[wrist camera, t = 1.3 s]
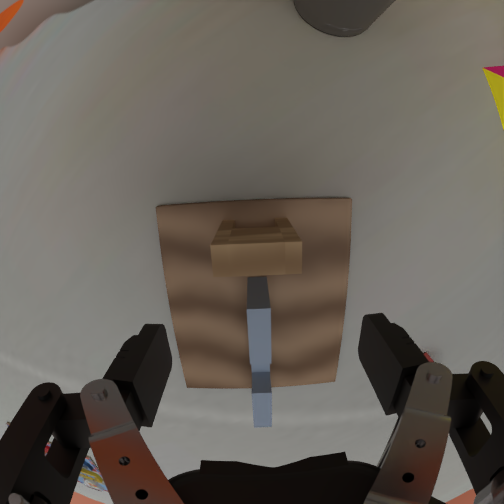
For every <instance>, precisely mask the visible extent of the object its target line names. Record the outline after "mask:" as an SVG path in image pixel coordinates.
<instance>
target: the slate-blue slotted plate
mask: <svg viewBox="0 0 504 504" xmlns="http://www.w3.org/2000/svg"><path fill="white" fill-rule="evenodd" d="M247 324H248V340H249V356H250V364H251V368H252V403H253V418H254V427H272V391H271V379H270V364H271V307H270V299H269V291H268V283H267V277H248V281H247Z"/></svg>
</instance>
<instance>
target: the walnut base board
mask: <svg viewBox="0 0 504 504" xmlns="http://www.w3.org/2000/svg"><path fill="white" fill-rule="evenodd" d="M156 213H157V222H158V231H159V239H160V247H161V254H162V261H163V268H164V275H165V281H166V288H167V294H168V299H169V305H170V311H171V316H172V321H173V326H174V332H175V336H176V341H177V346H178V351H179V355H180V360H181V364H182V368H183V373H184V377H185V381H186V385H187V388H252V368H251V364H250V356H249V340H248V324H247V281H248V277H267V283H268V291H269V299H270V307H271V364H270V379H271V387H283V386H296V385H307V384H317V383H326V382H334V381H335V379H336V373H337V367H338V360H339V354H340V347H341V340H342V332H343V324H344V315H345V306H346V296H347V286H348V273H349V259H350V242H351V217H352V199H351V198H286V199H256V200H234V201H216V202H200V203H186V204H173V205H161V206H157V207H156ZM275 218H288V220H289V222H290V223H291V225H292V226H293V228H294V229H295V231H296V233H297V234H298V236H299V237H300V239H301V240H302V274H283V275H261V276H236V277H213V270H212V259H211V248H210V245H211V243H212V241H213V239H214V237H215V235H216V233H217V231H218V228H219V226H220V224H221V222H222V220H235V228H257V227H275Z"/></svg>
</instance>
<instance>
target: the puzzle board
mask: <svg viewBox="0 0 504 504" xmlns="http://www.w3.org/2000/svg"><path fill="white" fill-rule="evenodd" d="M6 424H7V425H8V426H9V425H10V422H7V423H6ZM51 444H52V442H49V441H48V443H47V445H46V447H45V456H46V454H47V452H48V450H49V448H50V446H51ZM78 482H81V483H83V484H84V485H86V486H88V487H90V488H92V489H95V490H98V491H103V490H104V491H108V490H107V488H106V485H105V483H104V481H103V478H102V476H101V473H100V471H99V469H98V467H97V466H96V465H95V463H94V462H93V460H92V459H91V457H89V456H86V458H85V461H84V464H83V466H82V469H81V472H80V475H79V478H78Z"/></svg>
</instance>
